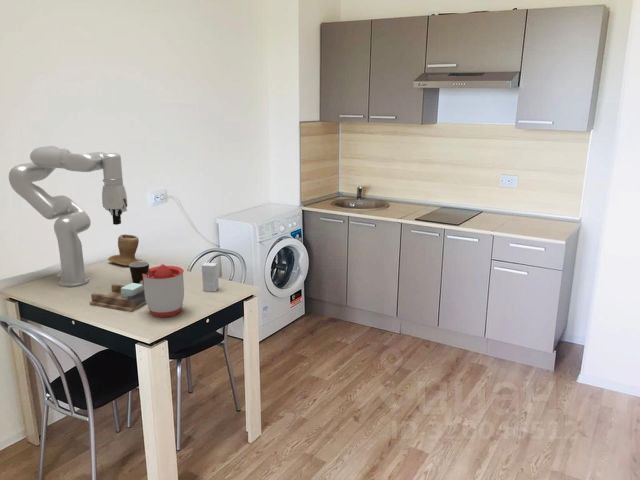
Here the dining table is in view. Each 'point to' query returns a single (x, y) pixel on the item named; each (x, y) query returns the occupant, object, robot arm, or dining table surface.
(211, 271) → the skincare box
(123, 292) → the block
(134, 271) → the coffee mug
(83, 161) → the robot arm
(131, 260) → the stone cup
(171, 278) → the citrus juicer
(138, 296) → the rail board
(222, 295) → the dining table surface
